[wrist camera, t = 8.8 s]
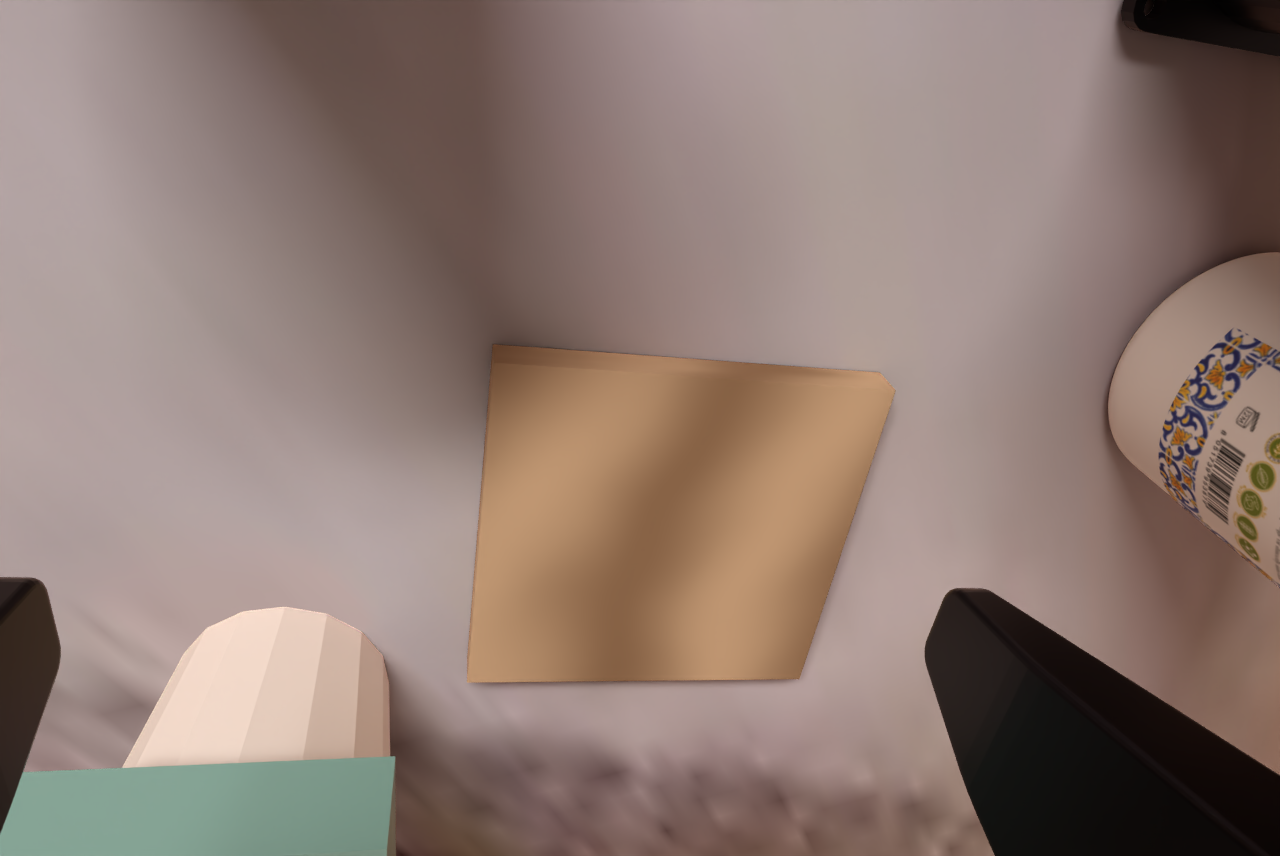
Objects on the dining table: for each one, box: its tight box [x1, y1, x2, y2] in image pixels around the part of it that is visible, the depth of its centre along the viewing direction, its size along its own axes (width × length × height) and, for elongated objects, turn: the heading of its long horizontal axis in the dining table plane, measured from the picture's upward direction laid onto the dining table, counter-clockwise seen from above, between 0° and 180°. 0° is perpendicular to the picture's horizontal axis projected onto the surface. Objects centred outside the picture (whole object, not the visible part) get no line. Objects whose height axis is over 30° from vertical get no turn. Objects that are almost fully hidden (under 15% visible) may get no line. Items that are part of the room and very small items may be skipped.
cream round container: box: [122, 607, 390, 768], centre depth 22 cm, size 7×7×7 cm
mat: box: [467, 344, 896, 682], centre depth 24 cm, size 10×10×1 cm
